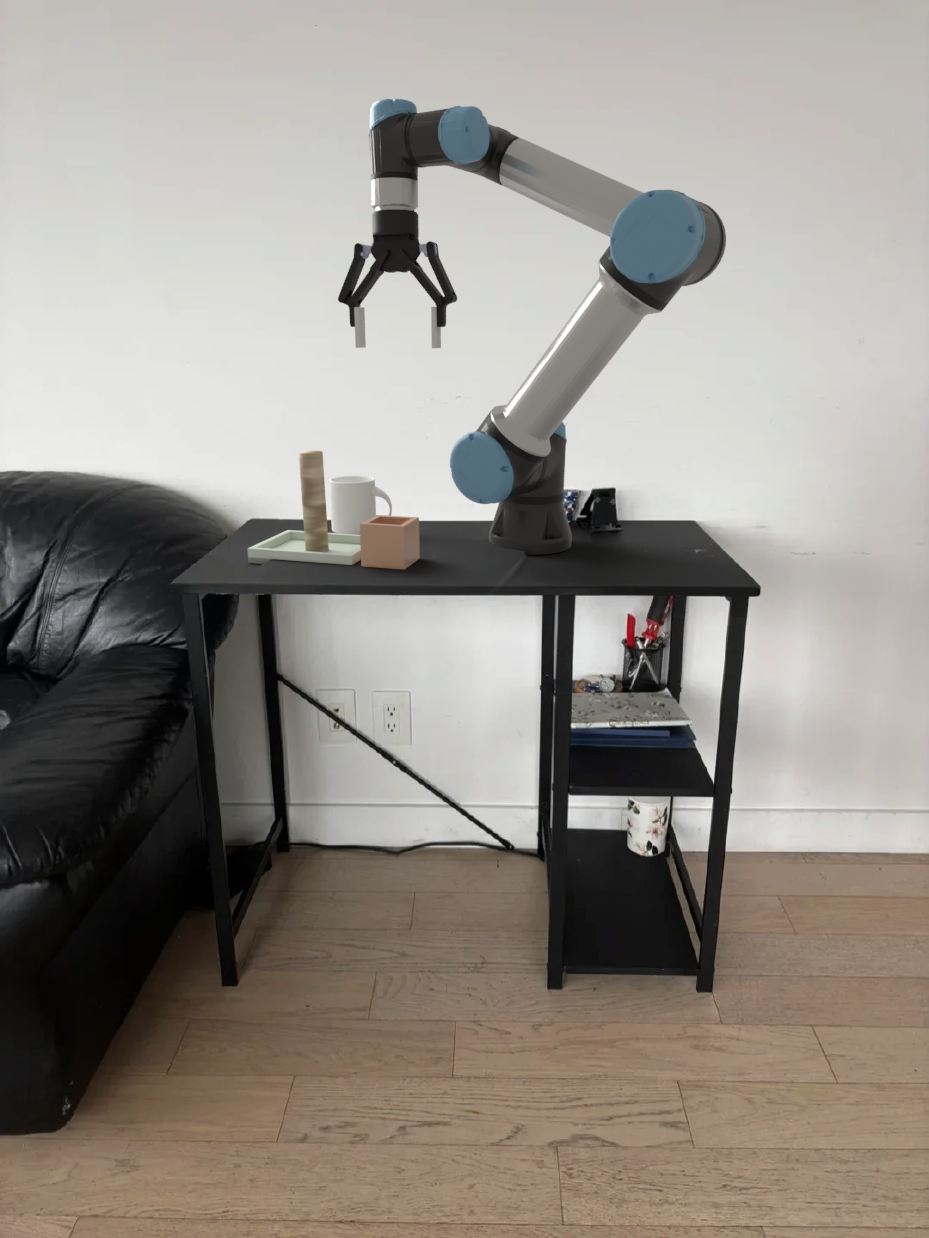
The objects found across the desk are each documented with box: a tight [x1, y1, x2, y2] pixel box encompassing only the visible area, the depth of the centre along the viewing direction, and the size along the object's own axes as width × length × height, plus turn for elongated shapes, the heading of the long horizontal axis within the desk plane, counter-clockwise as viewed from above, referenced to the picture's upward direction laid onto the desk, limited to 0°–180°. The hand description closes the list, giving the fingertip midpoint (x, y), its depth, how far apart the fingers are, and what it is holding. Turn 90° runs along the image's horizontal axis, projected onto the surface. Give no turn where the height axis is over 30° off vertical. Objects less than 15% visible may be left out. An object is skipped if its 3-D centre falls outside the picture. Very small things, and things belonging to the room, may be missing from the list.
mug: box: [328, 475, 393, 535], centre depth 168 cm, size 9×12×11 cm
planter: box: [359, 514, 421, 570], centre depth 145 cm, size 8×8×8 cm
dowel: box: [298, 450, 329, 552], centre depth 150 cm, size 4×4×17 cm
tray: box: [246, 529, 361, 566], centre depth 153 cm, size 19×15×2 cm
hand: (398, 348), depth 149 cm, fingers open, 13 cm apart
